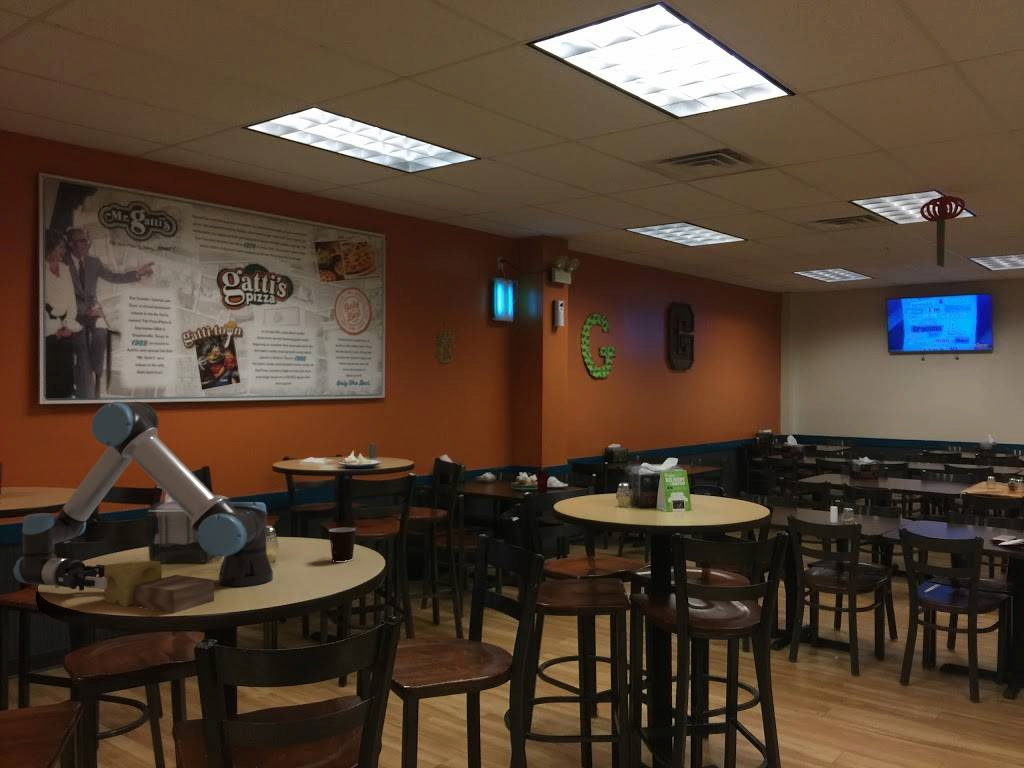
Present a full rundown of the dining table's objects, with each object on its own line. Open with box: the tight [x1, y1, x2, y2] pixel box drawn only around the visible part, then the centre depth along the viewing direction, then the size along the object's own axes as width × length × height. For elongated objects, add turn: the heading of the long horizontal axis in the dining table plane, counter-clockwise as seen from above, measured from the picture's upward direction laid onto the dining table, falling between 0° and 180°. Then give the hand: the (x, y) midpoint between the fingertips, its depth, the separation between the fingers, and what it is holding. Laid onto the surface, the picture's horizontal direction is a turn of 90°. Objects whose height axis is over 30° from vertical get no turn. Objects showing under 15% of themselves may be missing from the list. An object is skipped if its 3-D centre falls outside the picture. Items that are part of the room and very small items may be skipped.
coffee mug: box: [328, 527, 357, 561], centre depth 274 cm, size 12×9×10 cm
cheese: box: [103, 558, 163, 607], centre depth 223 cm, size 10×11×10 cm
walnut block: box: [134, 574, 215, 614], centre depth 218 cm, size 14×13×6 cm
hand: (126, 577), depth 223 cm, fingers open, 13 cm apart
